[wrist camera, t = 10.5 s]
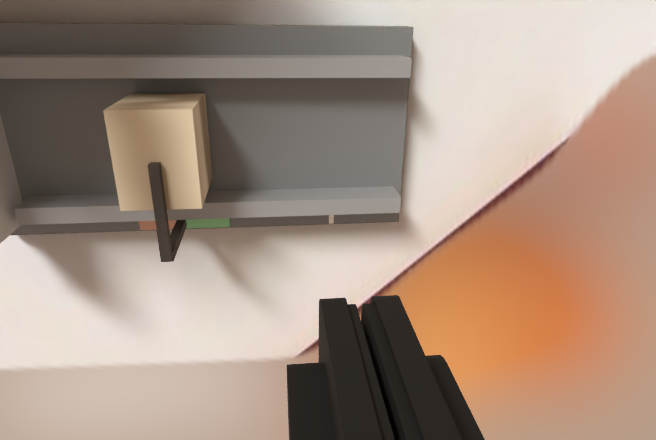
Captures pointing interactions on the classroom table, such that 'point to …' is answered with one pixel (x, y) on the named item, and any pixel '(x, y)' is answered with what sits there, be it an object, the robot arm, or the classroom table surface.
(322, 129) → the gauge base
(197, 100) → the gauge slider
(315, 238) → the classroom table surface
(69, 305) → the classroom table surface
